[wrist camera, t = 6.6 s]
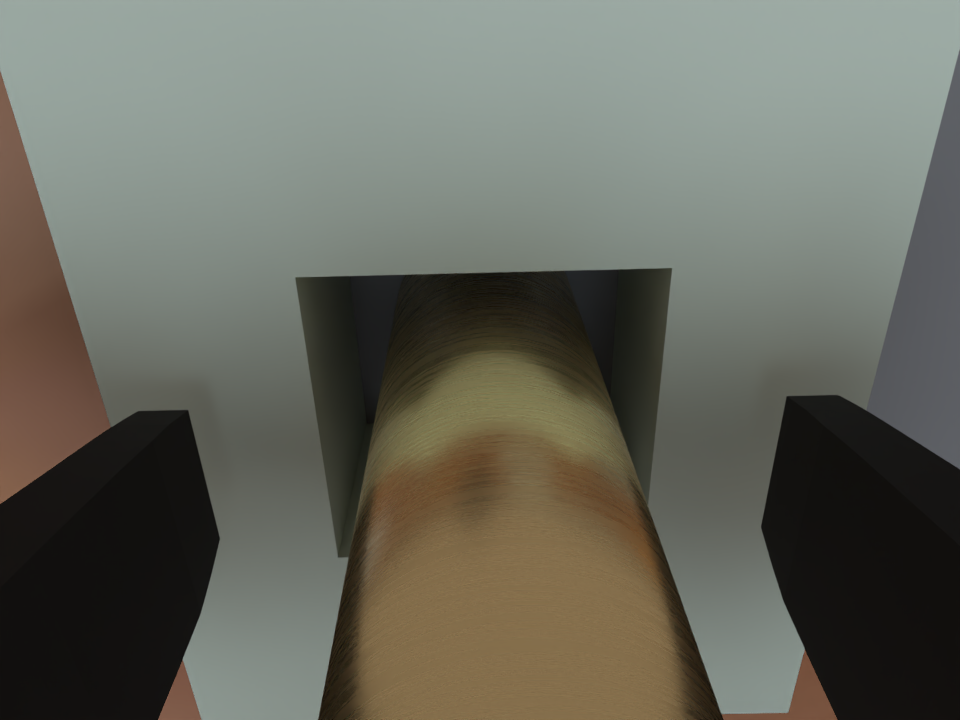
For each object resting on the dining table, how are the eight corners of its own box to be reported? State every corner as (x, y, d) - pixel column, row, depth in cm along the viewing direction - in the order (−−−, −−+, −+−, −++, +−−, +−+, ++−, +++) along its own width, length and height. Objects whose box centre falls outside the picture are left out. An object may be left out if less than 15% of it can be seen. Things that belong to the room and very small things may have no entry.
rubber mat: (1113, 606, 18) (1129, 623, 17) (229, 624, 18) (223, 641, 18) (1535, -207, 10) (1581, -213, 10) (26, -163, 11) (6, -166, 10)
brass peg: (571, 386, 14) (763, 1103, 5) (403, 391, 14) (305, 1123, 5) (575, 222, 13) (844, 806, 4) (390, 228, 13) (230, 831, 4)
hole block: (731, 564, 17) (788, 713, 13) (253, 574, 17) (203, 723, 14) (848, -101, 11) (999, -103, 8) (104, -79, 11) (-44, -74, 8)
